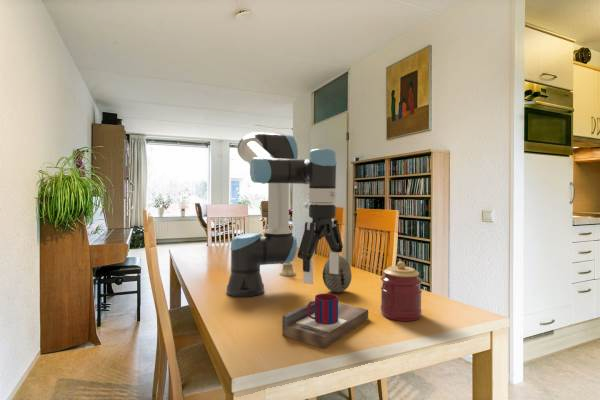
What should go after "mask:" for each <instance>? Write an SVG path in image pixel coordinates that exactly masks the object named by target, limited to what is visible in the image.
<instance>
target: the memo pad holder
mask: <svg viewBox="0 0 600 400" xmlns="http://www.w3.org/2000/svg"><path fill="white" fill-rule="evenodd" d="M308 304H309V303H307V304H306V305H305V304H304V305H303V306H301V307H298V308H297V309H294V310H292V311H290V312H288V313H285V314H283V315H282V317H281V318H282V319H281V320H282V321H281V322H282V324H281V325H282V327H281V331H282V337H283V336H284V337H287V338H290V339H293V340H296V341H298V342H303V343H306V344H309V345H311V346H315V347H318V348H322V349H327V348H328V347H329V346H331V345H333V344H334V343H335V342H337V341H338V340H340V339H341V338H342V337H344V336H345V335H347V334H349V333H350V332H351V331H352V330H354V329H356V328H357V327H358V326H360V325H361V324H363V323H364V322H366V321H367V320H369V309H367V308H363V307H359V306H353V305H349V304H345V303H340V302H338V322H337V323H334V324H320V323H317V322H316V321H315V319H312V318H310V317H309V316H308V314H307V306H308ZM310 315H311V316H312V317H315V303H312V304H311V306H310Z"/></svg>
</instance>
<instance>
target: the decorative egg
mask: <svg viewBox="0 0 600 400" xmlns="http://www.w3.org/2000/svg"><path fill="white" fill-rule="evenodd" d="M329 261H330V257H328V259H326V261H325V262H324V265H323V269H322V281H323V283H324V286H325V287H326V288H327V290H329V291H331V292H333V293H342V292H344V291H346V290H347V289H348V288H349V286H350V285H351V282H352V269H351V267H350V264H349V262H348V260H347V259H346V258H344V256H341V255H339V262H338V274H332V273H329Z"/></svg>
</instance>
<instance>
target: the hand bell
mask: <svg viewBox="0 0 600 400" xmlns="http://www.w3.org/2000/svg"><path fill="white" fill-rule="evenodd" d="M296 275H297V272H296V271H295V270H294V268H293V263H292V262H290V263H284V264H282V268H281V270H280V272H279V276H282V277H293V276H296Z"/></svg>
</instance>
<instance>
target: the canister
mask: <svg viewBox="0 0 600 400" xmlns="http://www.w3.org/2000/svg"><path fill="white" fill-rule="evenodd" d="M419 276H420V272H419V271H417V270H416V269H415V268H414V267H410V266H406V263H405V262H404V261H402V260H401V261H397V264H396V265H389V266H388V267H387V268H386V269H384V270H383V275H382V276H381V277H380V280H381V281H382V283H381V286H380V294H381V295H380V299H381V301H380V311H381V314H382V316H383V317H385V318H387V319H390V320H393V321H398V322H399V321H400V322H412V321H417V320H419V319H420V318H421V317H422V313H423V312H422V311H423V309H422V292H423V290H422V289H421V284H422V282H423V280H422V279H421V278H420V277H419Z"/></svg>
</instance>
